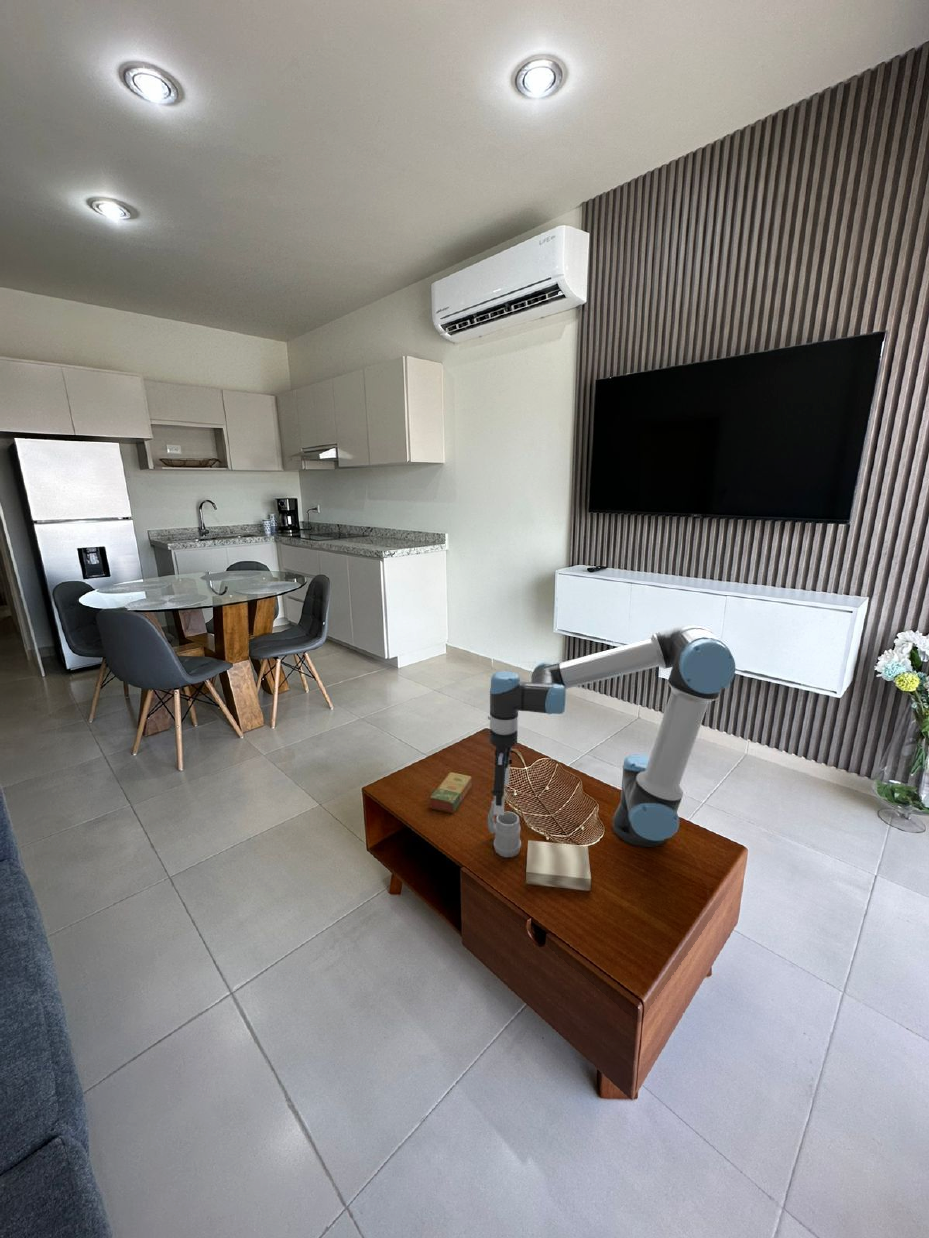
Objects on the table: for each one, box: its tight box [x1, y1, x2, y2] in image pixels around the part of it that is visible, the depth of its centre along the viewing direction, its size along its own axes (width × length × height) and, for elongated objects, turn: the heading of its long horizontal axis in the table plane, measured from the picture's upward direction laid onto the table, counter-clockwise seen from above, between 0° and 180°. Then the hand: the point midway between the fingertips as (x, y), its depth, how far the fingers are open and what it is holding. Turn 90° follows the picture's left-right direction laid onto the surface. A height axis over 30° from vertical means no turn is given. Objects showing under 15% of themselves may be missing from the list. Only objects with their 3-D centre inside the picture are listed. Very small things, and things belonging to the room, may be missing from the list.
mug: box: [487, 800, 522, 858], centre depth 143 cm, size 8×12×12 cm, turn 38°
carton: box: [429, 771, 473, 814], centre depth 166 cm, size 8×16×4 cm, turn 158°
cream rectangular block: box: [525, 840, 592, 892], centre depth 134 cm, size 16×12×4 cm
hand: (501, 798), depth 141 cm, fingers open, 13 cm apart
